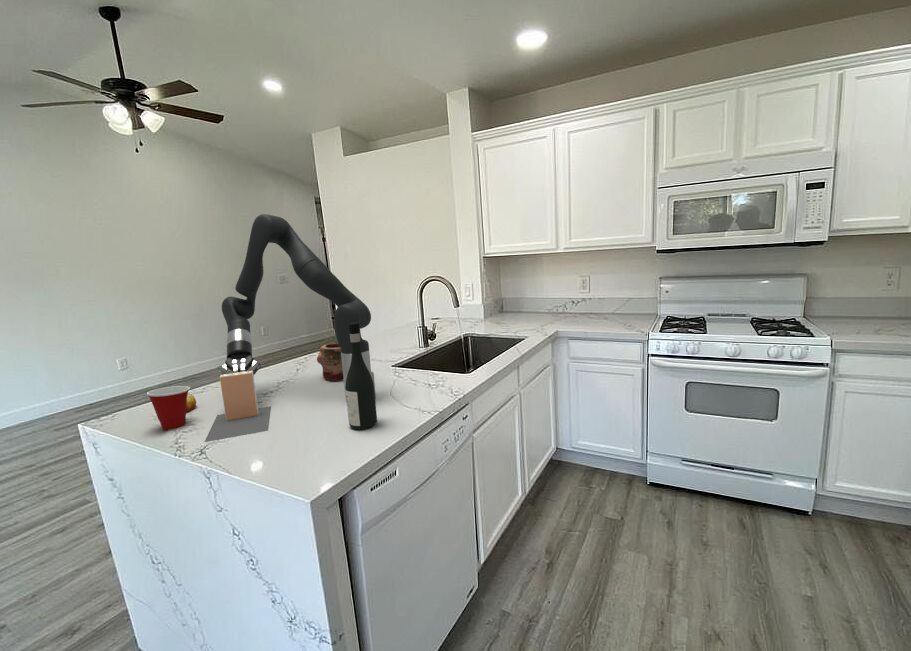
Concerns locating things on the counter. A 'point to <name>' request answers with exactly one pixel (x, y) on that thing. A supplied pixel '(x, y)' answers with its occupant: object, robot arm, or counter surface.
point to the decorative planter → (331, 362)
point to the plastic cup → (170, 405)
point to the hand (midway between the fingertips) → (240, 390)
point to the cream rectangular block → (239, 395)
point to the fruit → (190, 402)
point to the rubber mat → (239, 425)
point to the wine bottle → (359, 386)
